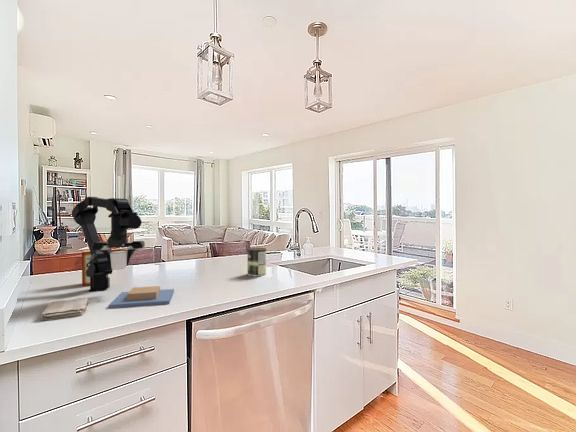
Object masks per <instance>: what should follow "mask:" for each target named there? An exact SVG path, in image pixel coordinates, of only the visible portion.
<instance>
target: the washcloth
mask: <svg viewBox="0 0 576 432" xmlns="http://www.w3.org/2000/svg"><path fill="white" fill-rule="evenodd" d="M88 305H89V297H86V296H85V297H76V298H73V299H65V300H64V299H63V300H53V301H50V302H49V304H48V305H47V306H46V307H45V309H44V310H43V311H42V312H41V314H40V317H41V319H40V321H41V322H43V321H51V320H52V321H54V320H59V319H60V320H61V319H66V318H74V317H81V316H83V315H85V313H86V311H87V308H88Z"/></svg>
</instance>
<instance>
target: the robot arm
mask: <svg viewBox="0 0 576 432" xmlns="http://www.w3.org/2000/svg"><path fill="white" fill-rule="evenodd" d="M98 208H104V209H106V211H109V212H110V214H108V216H107V217H108V218H110V223H111V224H110V229H111V230H110V235H109V237H108V238H107V241H101V239H100V236H99V233H98V231H97V228H96V225H95V221H96V218H97V216H96V215H97V213H98V212H99V209H98ZM71 217H72V218H73V219H74V222H75V223H76V224H77V225H79V227H81V229H82V233H83V235H84V238H85V241H86V244H87V246H88V250H90V253H91V258H90V261H89V263H90V266H89V267H88V269H87V270H86V276H87V277H90V285H89V289H88V291H89V292H94V291H95V292H97V291H106V290H108V289H109V288H110V286H111V283H110V281H111V280H110V277H109V275H112V274H113V270H112V268H111V259H110V252H113V251H112V248H113V249H114V248H117V249H120V248H128V249H127V250H126V251H128V255H127V266H129V264H130V262H131V260H132V257H133V254H134V253H135V251H137V250H139V249H144V248H145V246H146V245H145V241H144V240H133V241H132V242H129V239H128V230H137V229H139V228H140V227H141V226H142V219H141V216H139V215H138V212H136V211H134V209H133V207H132V206H131V203H130V202H129V200H128V198H121V197H120V198H117V197H116V198H114V197H111V198H104V197H103V198H102V197H97V196H86V197H85V198H84V199H83V200H82V201H80V202H78V203H77V204H75V206H74V207H73V209H72V210H71Z"/></svg>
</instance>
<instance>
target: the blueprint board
mask: <svg viewBox="0 0 576 432" xmlns="http://www.w3.org/2000/svg"><path fill="white" fill-rule="evenodd" d="M174 293H175V289H174V288H170V289H169V288H168V289H161V285H157V286H156V285H155V286H152V285H151V286H139V287H138V286H136V287H132V288H131V290H129V291H121V292H120V293H119V294H118V295H117V296H116V297H115V298H114V299H113V300H112V301H111V302H110V303H109V304H108V309H118V308H119V309H120V308H132V307H145V306H157V305H159V306H160V305H161V304H162V305H170V303H171V300H172V298H173V296H174Z"/></svg>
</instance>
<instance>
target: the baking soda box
mask: <svg viewBox="0 0 576 432" xmlns="http://www.w3.org/2000/svg"><path fill="white" fill-rule="evenodd" d="M90 258H91V253H90V250H89V249H88V250H86V249H85V250H81V276H82V277H81V278H82V279H81V282H82V283H81V285H82V287H88V286H89V287H90V277H87V276H86V270H87V269H88V267H89V266H90V263H89V261H90Z"/></svg>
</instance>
